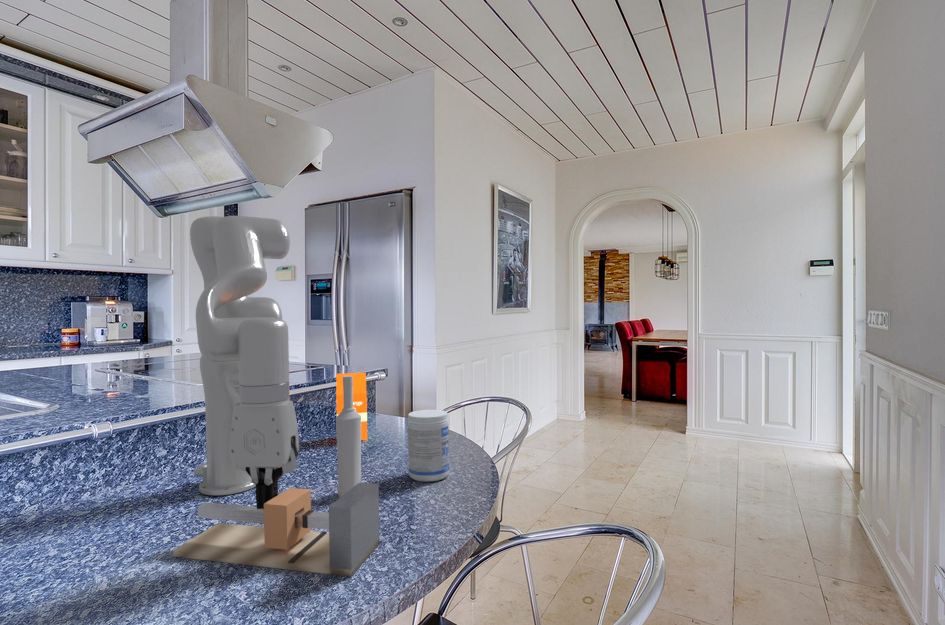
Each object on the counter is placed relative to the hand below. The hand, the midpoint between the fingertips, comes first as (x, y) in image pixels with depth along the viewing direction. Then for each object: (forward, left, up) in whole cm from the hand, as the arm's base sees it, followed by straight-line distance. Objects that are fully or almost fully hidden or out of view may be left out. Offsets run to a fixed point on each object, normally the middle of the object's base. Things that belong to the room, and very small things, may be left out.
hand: (267, 505), depth 79 cm
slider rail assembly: (+2, 0, -7) cm, 7 cm away
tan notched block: (+4, 0, -5) cm, 6 cm away
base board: (+2, 0, -7) cm, 7 cm away
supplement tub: (+15, +38, -7) cm, 42 cm away
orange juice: (-18, +65, -7) cm, 68 cm away
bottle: (+2, +24, -7) cm, 25 cm away
